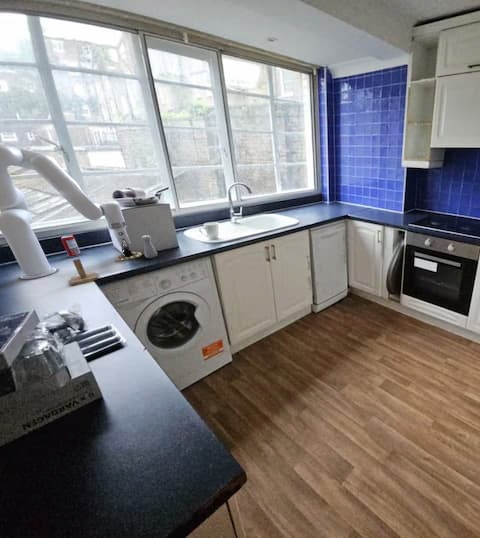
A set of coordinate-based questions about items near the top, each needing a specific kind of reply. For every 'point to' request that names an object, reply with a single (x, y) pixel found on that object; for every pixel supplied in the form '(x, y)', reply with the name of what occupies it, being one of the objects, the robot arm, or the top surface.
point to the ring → (120, 257)
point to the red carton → (71, 246)
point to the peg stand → (82, 274)
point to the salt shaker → (148, 247)
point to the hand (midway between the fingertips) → (128, 255)
